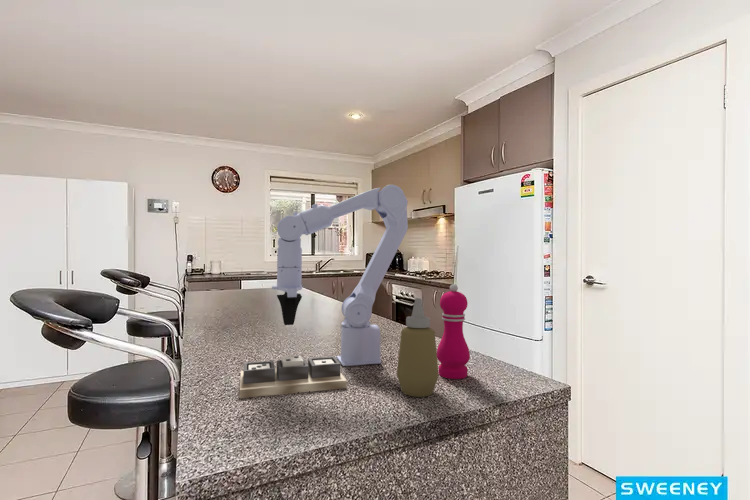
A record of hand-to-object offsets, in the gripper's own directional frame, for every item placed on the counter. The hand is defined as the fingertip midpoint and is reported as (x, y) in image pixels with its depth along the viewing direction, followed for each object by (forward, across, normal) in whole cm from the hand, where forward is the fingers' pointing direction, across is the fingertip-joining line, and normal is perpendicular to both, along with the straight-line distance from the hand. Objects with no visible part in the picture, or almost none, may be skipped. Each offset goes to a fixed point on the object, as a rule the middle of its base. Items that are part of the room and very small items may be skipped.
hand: (288, 324), depth 94 cm
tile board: (+9, +14, 0) cm, 17 cm away
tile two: (+7, +14, -1) cm, 15 cm away
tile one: (+8, +14, +6) cm, 17 cm away
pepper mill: (+10, +18, +34) cm, 40 cm away
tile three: (+8, +14, -7) cm, 17 cm away
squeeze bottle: (+10, +26, +22) cm, 35 cm away
